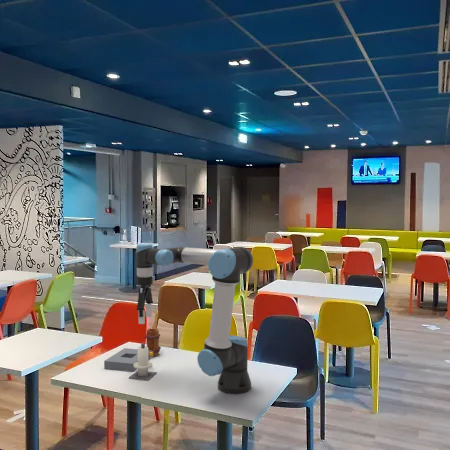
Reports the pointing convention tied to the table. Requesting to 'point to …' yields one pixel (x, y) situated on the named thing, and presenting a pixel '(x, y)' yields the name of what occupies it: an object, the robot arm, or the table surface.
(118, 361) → the socket
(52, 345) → the table surface
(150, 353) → the clip
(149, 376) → the pad
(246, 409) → the table surface
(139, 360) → the plug
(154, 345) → the mug
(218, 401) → the table surface
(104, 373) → the table surface
